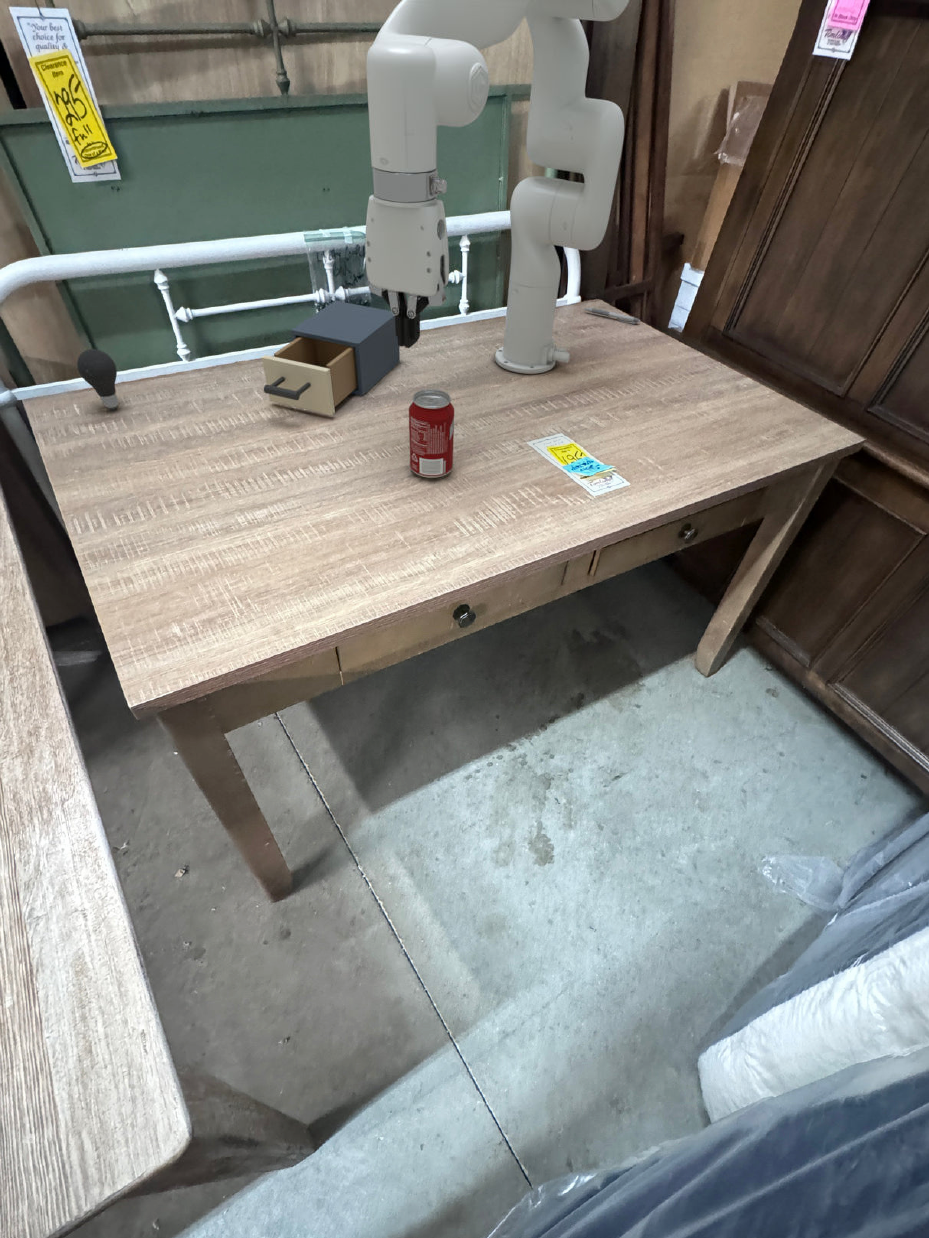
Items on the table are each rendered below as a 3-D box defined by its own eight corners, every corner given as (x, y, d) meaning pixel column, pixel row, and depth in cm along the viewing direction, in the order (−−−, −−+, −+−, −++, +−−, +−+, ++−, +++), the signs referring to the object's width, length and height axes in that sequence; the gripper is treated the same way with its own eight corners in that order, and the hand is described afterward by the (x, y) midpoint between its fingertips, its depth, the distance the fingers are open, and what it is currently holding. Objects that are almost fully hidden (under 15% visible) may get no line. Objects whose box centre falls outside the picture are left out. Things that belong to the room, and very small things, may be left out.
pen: (638, 325, 145) (640, 319, 144) (583, 313, 149) (584, 306, 148) (639, 324, 145) (641, 318, 144) (584, 311, 149) (585, 305, 148)
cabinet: (362, 396, 114) (358, 343, 107) (298, 381, 117) (290, 329, 110) (399, 362, 125) (398, 312, 118) (340, 349, 128) (335, 300, 121)
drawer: (316, 429, 103) (310, 384, 97) (253, 413, 106) (243, 369, 100) (371, 379, 117) (369, 337, 111) (314, 367, 119) (308, 325, 114)
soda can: (447, 484, 95) (449, 411, 86) (405, 477, 96) (403, 405, 87) (456, 461, 100) (459, 390, 91) (416, 455, 100) (415, 384, 92)
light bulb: (94, 403, 108) (71, 345, 100) (129, 398, 109) (108, 341, 102) (95, 418, 104) (70, 359, 97) (131, 413, 106) (109, 355, 99)
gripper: (474, 188, 73) (467, 344, 86) (363, 172, 76) (372, 324, 90) (450, 201, 68) (446, 364, 81) (332, 183, 72) (347, 343, 85)
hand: (408, 343), depth 85 cm, fingers closed
